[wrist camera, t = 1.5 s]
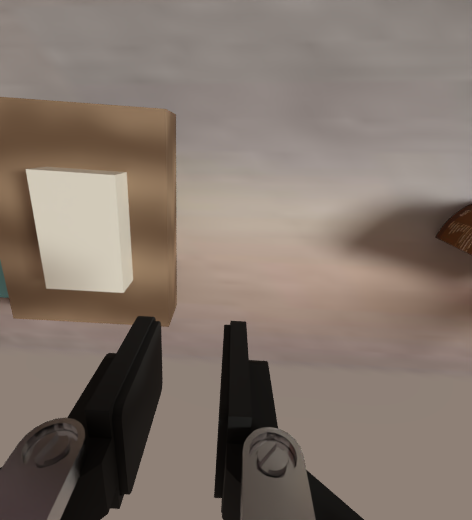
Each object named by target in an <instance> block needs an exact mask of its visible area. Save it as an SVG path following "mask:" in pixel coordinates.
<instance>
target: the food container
mask: <svg viewBox="0 0 472 520" xmlns="http://www.w3.org/2000/svg"><path fill="white" fill-rule="evenodd" d="M436 238H438V239H440V240H442V241H444V242H446V243H448V244H450V245H452V246H454V247H456V248H458V249H460V250H462V251H464V252H466V253H468V254H470V255H472V204H471V205H468V206H466V207H465V208H463V209H461V210H460V211H458V212H457V213H456V214H454V215H453V216H452V217H451V218H450V219H449V220H448V221H447V222H446V223H445V224H444V225H443V227H442V228H441V229H440V231H439V232H438V234H437V236H436Z"/></svg>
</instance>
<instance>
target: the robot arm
mask: <svg viewBox="0 0 472 520" xmlns="http://www.w3.org/2000/svg"><path fill="white" fill-rule="evenodd" d="M161 390H162V346H161V322H160V321H156V319H155V317H151V316H138V317H137V318H136V320H135V322H134V323H133V325H132V327H131V329H130V330H129V332H128V334H127V336H126V338H125V339H124V341H123V343H122V345H121V346H120V348H119V350H118V352H117V353H108V354H107V355H106V356H105V357H104V359H103V360H102V362H101V364H100V365H99V367H98V369H97V370H96V372H95V374H94V375H93V377H92V378H91V380H90V382H89V383H88V385H87V387H86V388H85V390H84V392H83V393H82V395H81V396H80V398H79V400H78V401H77V403H76V405H75V406H74V408H73V410H72V411H71V413H70V414H69V416H68V418H58V419H54V420H51V421H47V422H45V423H43V424H41V425H39V426H37V427H35V428H34V429H33V430H32V431H30V432H29V433H28V434H27V435H25V437H24V438H23V439H22V440H21V441H20V442H19V443H18V445H17V446H16V448H15V449H14V451H13V452H12V453H11V455H10V456H9V458H8V459H7V461H6V462H5V464H4V465H3V467H1V468H0V520H100V519H102V518H103V517H104V516H105V515H107V514H108V512H109V509H110V508H117V509H119V508H120V506H121V502H122V499H123V496H124V494H130V493H131V491H132V489H133V485H134V482H135V479H136V475H137V472H138V468H139V465H140V462H141V458H142V455H143V451H144V448H145V445H146V442H147V438H148V435H149V431H150V428H151V425H152V421H153V418H154V415H155V411H156V408H157V404H158V401H159V398H160V395H161ZM214 493H215V494H214V497H215V498H222V508H221V512H222V518H223V519H224V520H364V519H363V518H361V517H360V516H359V515H358V514H357V513H356V512H355V511H353V510H352V509H351V508H350V507H349V506H348V505H346V504H345V503H344V502H343V501H342V500H341V499H339V498H338V497H337V496H336V495H335V494H333V492H331V491H330V490H329V489H328V488H327V487H326V486H324V485H323V484H322V483H321V482H320V481H319V480H317V479H316V478H315V477H314V476H313V475H311V474H310V473H309V472H308V471H307V470H306V466H305V461H304V456H303V453H302V450H301V448H300V446H299V444H298V443H297V442H296V440H295V439H294V438H293V437H292V436H291V435H289V434H288V433H287V432H285V431H283V430H281V429H278V426H277V420H276V413H275V406H274V400H273V393H272V386H271V380H270V374H269V366H268V362H267V361H254V360H249V359H248V343H247V328H246V322H242V321H231V323H230V325H224V340H223V357H222V373H221V390H220V407H219V424H218V441H217V459H216V475H215V492H214Z"/></svg>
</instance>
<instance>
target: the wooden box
mask: <svg viewBox="0 0 472 520" xmlns="http://www.w3.org/2000/svg"><path fill="white" fill-rule="evenodd" d="M39 167H58V168H73V169H88V170H102V171H117V172H127V186H128V203H129V219H130V236H131V253H132V269H133V281H132V282H131V284H130V285H129V286H128V288H127V289H126V290H125V292H124V293H116V292H98V291H81V290H63V289H46V284H45V278H44V272H43V266H42V261H41V255H40V249H39V243H38V238H37V232H36V226H35V220H34V215H33V209H32V203H31V197H30V192H29V186H28V180H27V174H26V169H31V168H39ZM0 261H1V265H2V269H3V274H4V278H5V283H6V287H7V292H8V296H9V300H10V305H11V309H12V314H13V318H17V319H36V320H54V321H73V322H91V323H110V324H128V325H133V323H134V322H135V320H136V318H137V317H138V316H151V317H155V319H156V321H160V322H161V326H165V327H169V325H170V322H171V319H172V316H173V314H174V311H175V308H176V305H177V285H176V114H174V113H172V112H170V111H168V110H166V109H158V108H144V107H130V106H117V105H103V104H89V103H76V102H62V101H49V100H35V99H21V98H8V97H0Z"/></svg>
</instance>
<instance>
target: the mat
mask: <svg viewBox="0 0 472 520" xmlns="http://www.w3.org/2000/svg"><path fill="white" fill-rule="evenodd" d="M0 297H5V298H9V296H8V292H7V287H6V283H5V278H4V274H3V269H2V265H1V261H0Z"/></svg>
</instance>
